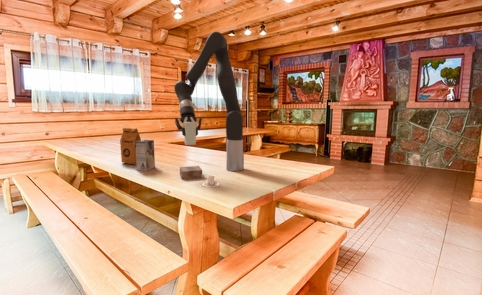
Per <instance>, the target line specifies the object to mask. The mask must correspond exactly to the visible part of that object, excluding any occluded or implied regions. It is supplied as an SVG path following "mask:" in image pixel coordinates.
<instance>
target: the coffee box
mask: <svg viewBox="0 0 482 295" xmlns="http://www.w3.org/2000/svg"><path fill="white" fill-rule="evenodd" d="M135 146H136V163H137V165H136V171H144V172H145V171H149V170H151V169H153V168H155V167H156V160H155V139H143V140H142V139H141V141H137V142H135Z"/></svg>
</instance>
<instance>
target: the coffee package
mask: <svg viewBox="0 0 482 295" xmlns="http://www.w3.org/2000/svg"><path fill="white" fill-rule="evenodd" d="M122 131H123V132H122V134H121V137H120V140H119V144H120V145H119V146H120V158H121V163H122V164H129V165H135V166H137V163H136V146H135V142H137V141H142V139H141V136H140V133H139V131H138V128H132V127H131V128H130V127H129V128H128V127H123V128H122Z"/></svg>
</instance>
